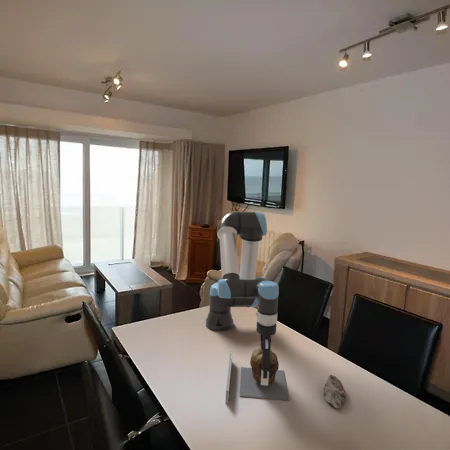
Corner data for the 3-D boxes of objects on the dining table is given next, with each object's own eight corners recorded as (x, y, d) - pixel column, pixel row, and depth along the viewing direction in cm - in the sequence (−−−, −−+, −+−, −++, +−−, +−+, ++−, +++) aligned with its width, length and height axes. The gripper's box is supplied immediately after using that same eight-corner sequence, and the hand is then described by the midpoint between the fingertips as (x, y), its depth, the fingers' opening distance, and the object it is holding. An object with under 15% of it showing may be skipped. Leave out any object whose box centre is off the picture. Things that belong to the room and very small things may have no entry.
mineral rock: (342, 413, 108) (343, 401, 107) (318, 404, 112) (320, 392, 111) (349, 390, 120) (350, 379, 120) (328, 382, 124) (329, 372, 124)
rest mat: (240, 367, 132) (240, 367, 132) (283, 371, 130) (283, 370, 130) (239, 396, 114) (239, 395, 114) (289, 400, 113) (289, 399, 113)
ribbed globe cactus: (244, 382, 120) (246, 352, 118) (255, 367, 129) (257, 340, 128) (271, 391, 115) (273, 361, 113) (281, 376, 124) (282, 347, 123)
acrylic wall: (229, 362, 136) (230, 351, 135) (232, 362, 136) (232, 351, 135) (225, 403, 110) (225, 390, 109) (228, 403, 110) (228, 390, 109)
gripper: (256, 309, 131) (253, 357, 134) (257, 336, 108) (254, 394, 111) (274, 310, 130) (271, 359, 133) (279, 337, 107) (275, 396, 110)
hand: (263, 375), depth 122 cm, fingers closed on ribbed globe cactus, 11 cm apart
